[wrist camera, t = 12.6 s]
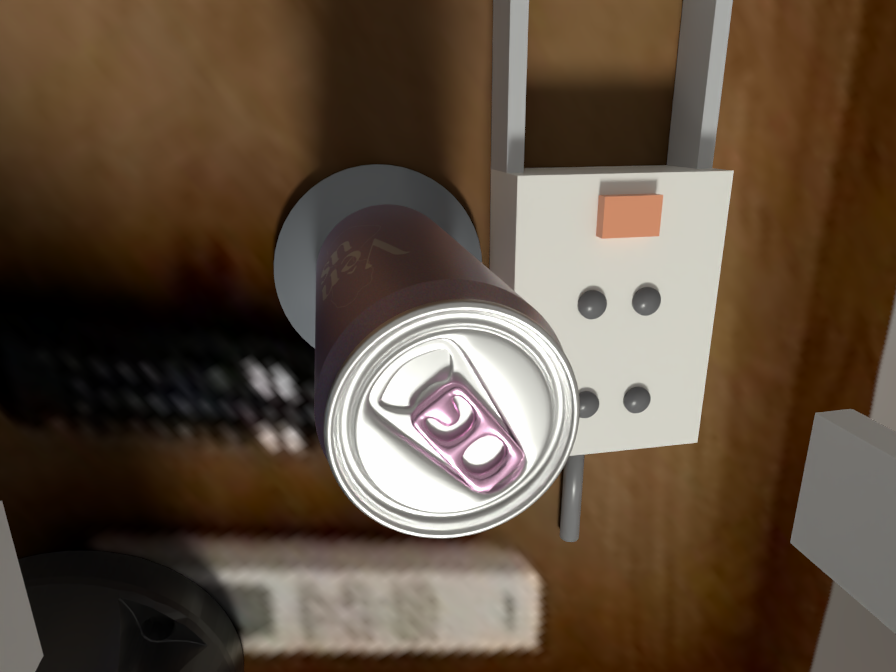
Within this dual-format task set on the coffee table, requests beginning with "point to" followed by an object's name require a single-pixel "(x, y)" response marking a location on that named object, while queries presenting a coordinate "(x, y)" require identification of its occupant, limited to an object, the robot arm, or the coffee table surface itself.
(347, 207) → the coaster
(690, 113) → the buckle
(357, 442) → the beverage can
